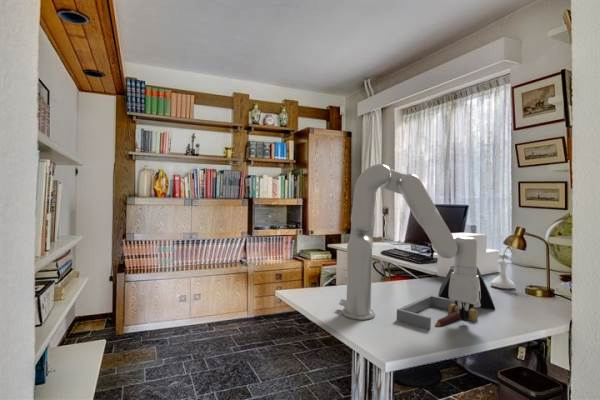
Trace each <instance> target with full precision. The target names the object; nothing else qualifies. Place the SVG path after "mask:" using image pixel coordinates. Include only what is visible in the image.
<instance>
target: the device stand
mask: <svg viewBox="0 0 600 400" xmlns="http://www.w3.org/2000/svg"><path fill="white" fill-rule="evenodd" d="M452 266H453V265H452ZM453 272H454V271H453V269H450V270H449V272H448V274H447V276H446V277H444V280H443V281H442V284H441V285H440V287H439V290H438V296H437V297H442V298H446V299H450V298H449V284H450V277H451V273H453ZM477 275H478V276H479V281H480V290H481V300H480V304H481V306H480V307H475V308H477V309H485V310H491V309H492V310H493V311H495V309H496V306H495V304H494V301H493V298H492V296H491V293H490V290H489V289H488V287H487V284H486V282H485V279H484V278H483V276H482V275H481V273H480V271H479V269H478V268H477ZM465 305H466V303H464V307H465Z"/></svg>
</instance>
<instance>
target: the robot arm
mask: <svg viewBox="0 0 600 400" xmlns="http://www.w3.org/2000/svg"><path fill="white" fill-rule="evenodd" d="M379 188H381V189H385V190H387V191H390V192H393V193H396V194H400V195H401V196H402V197H403V200H404V201H405V202H406V204H407V206H408V209H410V212H411V213H412V216H413V217H414V219H415V220H416V222H417V223H418V224H419V225H420V227H421V228H422V229H423V231H424V232H425V234H426V235H427V237H428V238H429V240H430V243H431V248H432V250H433V251H434V253H437V254H438V255H439V256H441V257H443V258H452V257H453V256H454V265H453V266H452V265H451V266H450V269H453V271H454V272H453V273H451V277H450V284H449V298H450V299H449V300H450V301H451V302H453V303H455V304H456V305H457V306H458V308H459V309H460V310H459V317H460V321H463V322H466V321H469V320H468V319H469V310H470V309H474V308H476V307H480V306H481V304H480V300H481V290H480V281H479V276H478V275H477V240H476V239H475V238H472V237H453V236H452V234H451V233H452V232H451V231H450V229H449V227H448V225H447V224H446V222H445V220H444V219H443V217H442V215H441V214H440V212H439V210H438V209H437V206H436V205H435V203H434V202H433V200H432V198H431V196H430V195H429V193H428V191H427V190H426V187H425V186H424V184H423V182H422V180H421V179H420V178H419V177H418V176H417V175H416V174H413V173H403V172H400V171H397V170H395V169H390V166H388V165H386V164H383V163H377V164H373V165H372V166H369V167H367V168H366V169H364V170H363V171H362V173H360V175H359V176H358V177H357V179H356V182H355V186H354V191H353V201H352V209H351V215H350V223H351V226H350V237H349V240H348V242H347V244H346V245H347V246H346V266H347V267H346V299H345V298H341V299H340V302H339V305H340V306H343V309H342V315H343V316H344V317H346V318H349V319H353V320H360V321H361V320H362V321H363V320H371V319H373V318H375V316H376V312H375V310H374V309H372V271H373V269H372V268H373V267H372V266H373V265H372V264H373V263H372V261H373V243H374V235H375V233H374V232H375V224H376V223H375V222H376V215H375V206H376V199H377V192H378V189H379ZM464 303H466V305H465V306H464Z"/></svg>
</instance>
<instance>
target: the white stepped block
mask: <svg viewBox="0 0 600 400" xmlns="http://www.w3.org/2000/svg"><path fill="white" fill-rule="evenodd" d="M451 234H452V236H453V237H472V238H475V239H476V240H477V268H478V269H479V271H480V273H481V275H488V274H489V275H490V274H494V273H499V272H500V264H499V262H498V261H500V252H501V250H500V249H499V250H498V249H491V248H487V237H488V235H487V234H483V233H476V232H475V233H474V232H473V233H472V232H451ZM432 258H433V259H437V269H436V272H437V273H436V275H437V276H438V277H443V278H446V276H447V274H448V272H449V270H450V266H451V265H454V256H453V257H452V258H443V257H441V256H439V255H438V254H437V253H436V252H433V253H432Z"/></svg>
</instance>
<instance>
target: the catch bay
mask: <svg viewBox="0 0 600 400" xmlns="http://www.w3.org/2000/svg"><path fill="white" fill-rule="evenodd" d="M451 303H452V304H455V303H453V302H451V301H450V300H449V299H446V298H442V297H438V296H437V295H433V294H428V295H426V296H424V297H422V298H420V299H417V300H415V301H413V302H411V303H409V304H406V305H404V306H402V307H399V308H397V309H396V321H398V322H403V323H405V324H409V325H411V326H414V327H415V326H416V327H419V328H422V329H426V330H431V328H432V327H431V326H432V324H431V323H432V317H431V316H427V315H424V314H420V313H419V312H421V311H423V310H425V309H427V308H429V307H431V306H432V307H436V308H440V309H444V310H448V307H449V305H450V304H451Z"/></svg>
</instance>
